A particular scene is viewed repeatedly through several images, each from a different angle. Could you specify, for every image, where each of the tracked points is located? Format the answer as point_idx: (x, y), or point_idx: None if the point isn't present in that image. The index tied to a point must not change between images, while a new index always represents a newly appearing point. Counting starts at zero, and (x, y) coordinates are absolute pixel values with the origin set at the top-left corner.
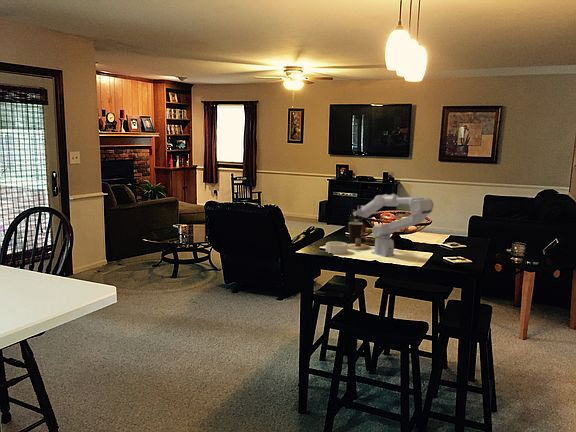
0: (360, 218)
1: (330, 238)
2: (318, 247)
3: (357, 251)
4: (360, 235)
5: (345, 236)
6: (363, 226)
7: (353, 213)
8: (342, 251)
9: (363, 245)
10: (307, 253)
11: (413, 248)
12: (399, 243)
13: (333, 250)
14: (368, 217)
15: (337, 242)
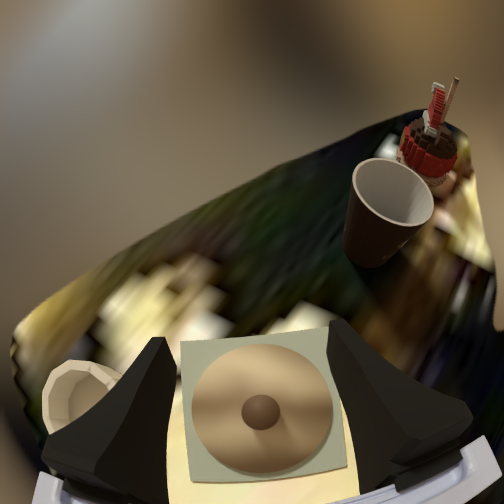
0: (332, 360)
1: (277, 182)
2: (104, 299)
3: (190, 476)
4: (391, 255)
5: None
6: (447, 164)
7: (46, 483)
8: None
9: (301, 411)
10: (22, 353)
11: None
12: (495, 377)
13: None
14: (361, 486)
15: (108, 388)
